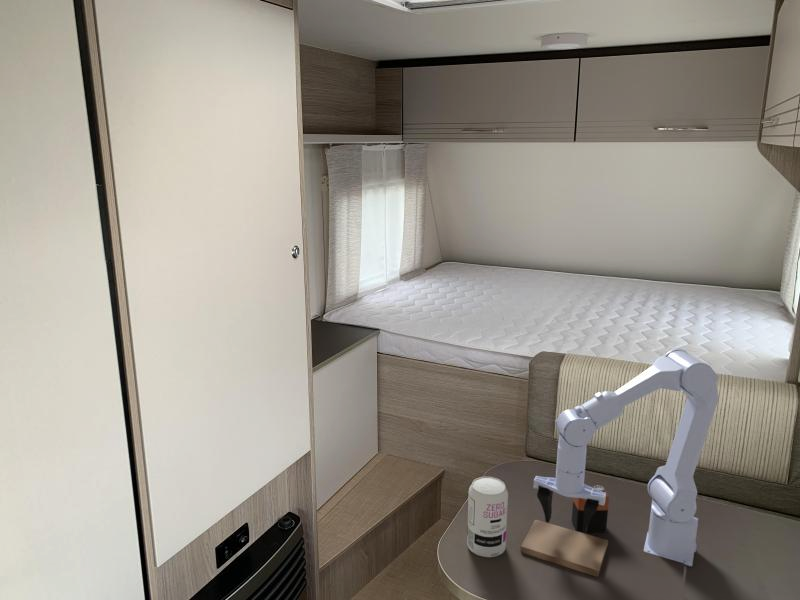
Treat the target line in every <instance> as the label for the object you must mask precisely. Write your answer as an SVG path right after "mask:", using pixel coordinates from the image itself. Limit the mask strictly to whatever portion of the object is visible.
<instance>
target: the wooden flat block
mask: <svg viewBox="0 0 800 600" xmlns="http://www.w3.org/2000/svg"><path fill="white" fill-rule="evenodd" d="M608 545H609V540H608V539H605V538H601V537H598V536H594V535H590V534H588V533H583V532H577V531H576V530H574V529H570V528H566V527H564V526H563V527H562V526H559V525H556V524H553V523H550V522H549V523H547V522H546V521H542V520H539V519H534V521H533V523H532V524H531V526H530V528H529V530H528V533H527V534H526V536H525V538H524V539H523V542H522V543H521V545H520V553H523V554H525V555H528V556H531V557H534V558H537V559H539V560H540V559H541V560H543V561H546V562H550V563H553V564H554V565H555V564H556V565H559V566H562V567H564V568H568V569H571V570H573V571H574V570H575V571H578V572H581V573H583V574H584V573H585V574H587V575H590V576H593V577H597V578H598V577H599V575H600V573H601V569H602V567H603V566H602V565H603V562H604V559H605V555H606V553H607V550H608Z"/></svg>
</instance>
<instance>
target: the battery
mask: <svg viewBox="0 0 800 600" xmlns="http://www.w3.org/2000/svg"><path fill="white" fill-rule="evenodd" d="M591 487H592V488H594V489H596V490H599V491H601V492H605V493H606V499H605V504H604V506H603V505H598V508H597V510H596V512H595V514H594V515H593V516H592V518H591V519H590V521H589V523H588V528H587V531H586V533H602V532H603V533H605V532H606V531H607V524H608V517H609V504H610V496H609V494H608V493H607V491H606V489H605V487H604V486H602V485H598V484H597V485H594V486H591ZM586 501H587V500H586V499H582V498H573V497H572V508H571V509H572V512H571V522H572V525H573V527H574V529H575V531H577V532H581V533H583V532H582V528H583V522H584V506H585V503H586Z"/></svg>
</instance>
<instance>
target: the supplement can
mask: <svg viewBox="0 0 800 600" xmlns="http://www.w3.org/2000/svg"><path fill="white" fill-rule="evenodd" d="M467 498H468V500H467V504H468V505H467V530H466V531H467V533H466V536H467V537H466V538H467V539H466V545H467V548H468V549H469V550H470V551H471V553H473V554H475V555H476V556H479V557H482V558H483V557H484V558H494V557H495V558H496V557H498V556H500V555H502V554H503V553H504V552H505V551H506V547H507V544H506V543H507V542H506V541H507V525H508V524H507V523H508V506H509V505H508V503H509V491H508V490H507V487H506V484H505V482H504V481H502V480H501V479H499V478H497V477H494V476H480V477H478V478H477V477H476V478H474V480H472V483H471V485H470V486H469V489H468V497H467Z"/></svg>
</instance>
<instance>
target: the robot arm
mask: <svg viewBox="0 0 800 600" xmlns="http://www.w3.org/2000/svg"><path fill="white" fill-rule="evenodd" d="M718 379H719V375H718V374H717V372H716V371H715V370H714V369H713V368H712V367H711V365H709V364H707V363H705V362H703V361H701V360H699V359H698V358H696V357H694V356H693V355H692V354H690V353H689V352H688V351H686V350H684V349H681V348H673V349H671V350H669V351H668V352H666V353H665V354H663V355H661V356H659V357H657V358H656V360H655V361H654V363H652V365H651V366H650V367H648V368H647V369H645V370H643V372H641V373H639V374H638V375H637V376H635V377H634V378H632V379H631V380H630V381H628V382H626V383H625V384H624V385H622V386H621V387H620V388H618V389H617V390H615V391H609V390H604V391H602V392H601V391H598V392H596V393H595V394H594V397H592V398H591V399H589V400H588V401H586V402H583V404H581V405H577V406H575V407H574V408H571V409H566V410H563V411H562V412H560V414H558V417H557V418H556V420H554V425H555V427H556V429H557V431H558V432H559V433H558V440H557V441H558V442H557V452H556V453H557V454H556V455H557V456H556V465H555V466H556V468H555V477H547V476H545V477H544V476H539V475H535V477H534V479H533V486H532V487H533V489H537V493H536V496H537V499H538V500H539V503H540V504H541V506H542V510H543V513H544V514H543V515H544V519H545V522H546V523H550V521H551V519H552V504H553V502H552V501H553V494H554V493H556V494H559V495H560V496H564V497H567V498H572V499H573V498H582V499H586V500H587V501H586V503H585V506H584V522H583V528H582V532H581V533H584V534H587V532H586V531H587V528H588V523H589V521H590V519H591V518H592V516H593V515H594V514H595V512H596V510H597V508H598V505H603V506H604V504H605V499H606V493H607V492H606V493H605V492H601V491H599V490H596V489H594V488H592V487H593V486H589V485H588V484H585V473H586V472H585V471H586V462H587V461H586V460H587V448H588V447H587V446H588V444H589V443H590V442H591V441H592V439H593V438H594V435H595V434H596V433H597V431H598V430H600V429H601V428H603V427H604V426H606V425H608V424H610V423H611V422H613V421H614V420H616V419H619V418H620V417H621V416H623V415H624V409H625V407H626V406H628V405H630V404H633V403H634V402H636V401H638V400H640V399H642V398H644V397H645V396H649V395H650V394H652V393H654V392H655V391H658V390H660V389H664V390H668V391H675V392H682V393H684V395H685V397H686V401H685V403H684V407H683V410H682V413H681V416H680V420H679V423H678V425H677V429H676V432H675V435H674V439H673V441H672V445H671V447H670V450H669V454H668V456H667V460H666V462H665V465H662V466H659V467H657V468H656V472H655V473H654V476H652V477H651V479H649V482H648V483H647V492H648V493H647V494H649V496H650V497H651V508H650V516H649V525H648V531H647V533H646V536H645V543H644V546H643V547H644V548H643V552H645V553H647V554H651V555H654V556H657V557H661V558H664V559H668V560H671V561H675V562H679V563H682V564H684V566H687V567H693V564H694V555H695V553H696V551H697V545H698V544H697V543H696V541H697V540H696V539H697V532H698V525H699V518H698V517H695V514H696V513H697V508H698V507H697V506H698V505H697V501H696V500H697V496H698V489H697V486H696V483H695V480H694V474H695V472H696V468H697V467H698V466H697V465H698V463H699V459H700V457H701V454H702V450H703V447H704V445H705V442H706V439H707V435H708V434H709V433H708V432H709V429H710V427H711V424H712V421H713V418H714V415H715V411H716V410H717V406H718V403H719V399H720V396H719V392H718V391H719V390H718V386H717V385H718V384H717V382H718Z"/></svg>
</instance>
